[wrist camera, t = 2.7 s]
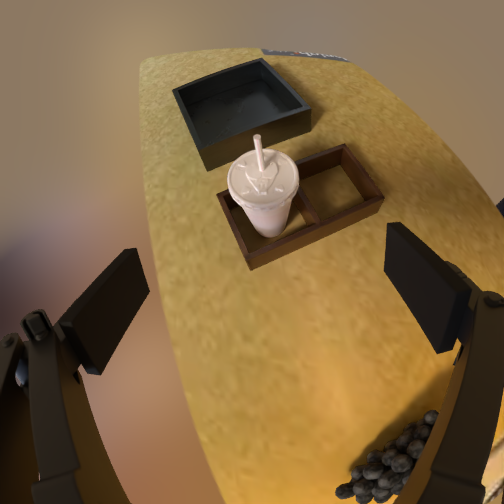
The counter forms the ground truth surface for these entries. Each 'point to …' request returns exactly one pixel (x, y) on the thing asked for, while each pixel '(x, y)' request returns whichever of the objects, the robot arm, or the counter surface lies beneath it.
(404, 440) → the fruit
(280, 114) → the dark grey square tray
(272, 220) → the smoothie
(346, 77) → the counter surface
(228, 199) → the wooden divided frame
